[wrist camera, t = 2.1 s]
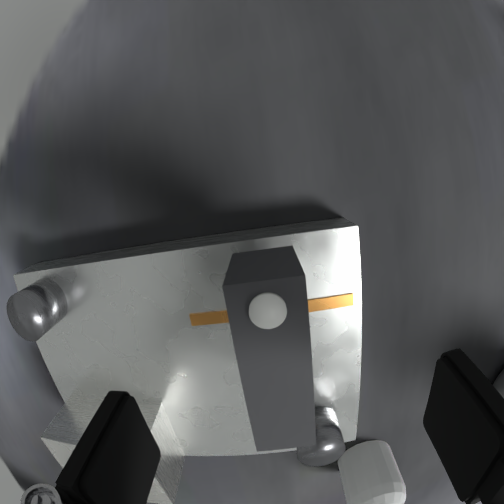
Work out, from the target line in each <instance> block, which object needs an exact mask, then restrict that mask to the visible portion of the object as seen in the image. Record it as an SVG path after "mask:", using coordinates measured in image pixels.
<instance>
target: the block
mask: <svg viewBox="0 0 504 504" xmlns="http://www.w3.org/2000/svg"><path fill="white" fill-rule="evenodd" d="M222 287H223V293H224V298H225V303H226V309H227V314H228V319H229V324H230V329H231V334H232V339H233V344H234V349H235V354H236V359H237V364H238V369H239V374H240V378H241V383H242V388H243V392H244V397H245V402H246V406H247V411H248V415H249V420H250V424H251V428H252V433H253V437H254V442H255V446H256V450H257V452H258V451H270V450H280V449H289V448H297V447H304V446H311V445H316V428H315V403H314V383H313V366H312V350H311V336H310V323H309V310H308V299H307V287H306V277H305V273H304V271H303V268H302V266H301V264H300V262H299V259H298V257H297V255H296V252H295V250H294V248H293V246H284V247H277V248H269V249H262V250H254V251H247V252H239V253H232V257H231V260H230V263H229V266H228V269H227V272H226V275H225V279H224V282H223V285H222Z"/></svg>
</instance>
